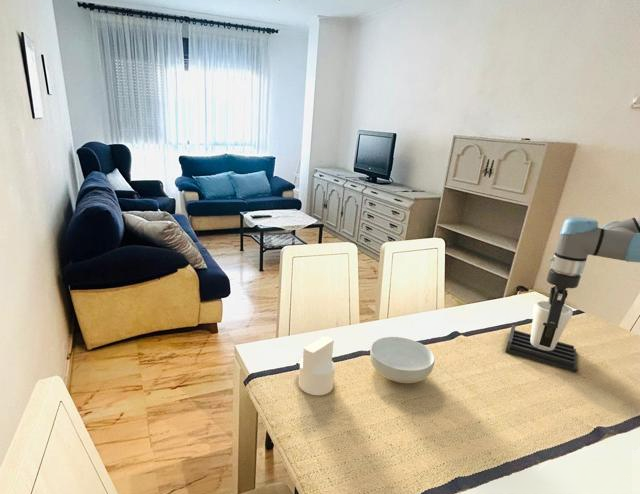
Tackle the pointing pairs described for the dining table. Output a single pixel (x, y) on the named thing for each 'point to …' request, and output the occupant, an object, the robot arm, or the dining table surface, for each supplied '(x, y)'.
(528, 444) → the dining table surface
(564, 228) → the robot arm
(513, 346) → the drying rack
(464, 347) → the dining table surface
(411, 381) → the cereal bowl
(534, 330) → the foam cup
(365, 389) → the dining table surface
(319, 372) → the base with upright slab
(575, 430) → the dining table surface
